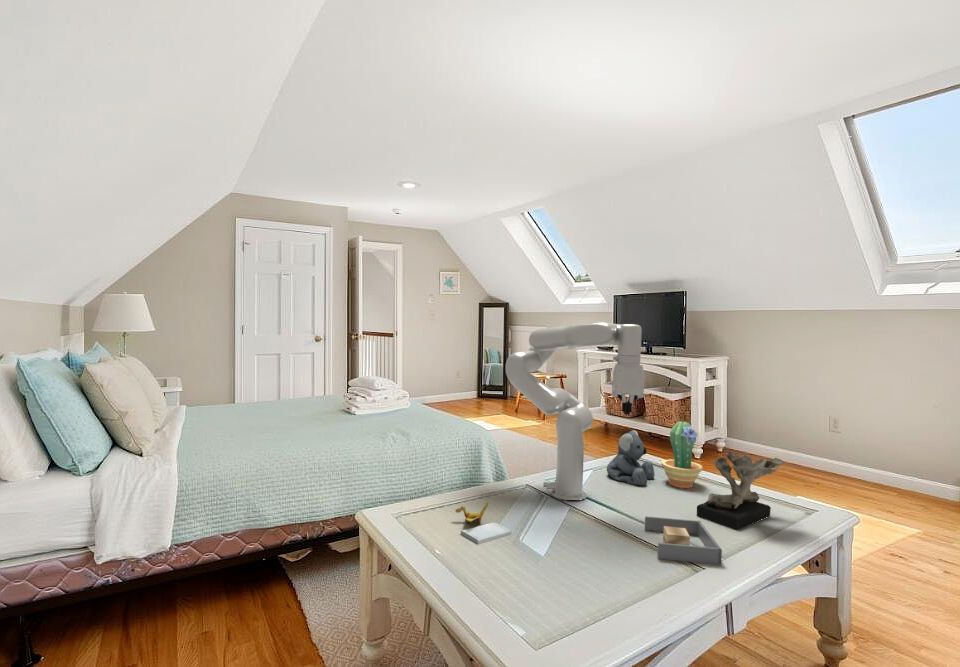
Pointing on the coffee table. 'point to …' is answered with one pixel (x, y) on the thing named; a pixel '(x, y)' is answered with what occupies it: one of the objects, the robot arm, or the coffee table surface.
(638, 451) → the koala plush
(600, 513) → the coffee table surface
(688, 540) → the wooden block
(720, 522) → the coral
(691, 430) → the potted cactus
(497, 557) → the coffee table surface
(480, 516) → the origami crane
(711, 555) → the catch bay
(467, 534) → the hard drive
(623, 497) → the coffee table surface
